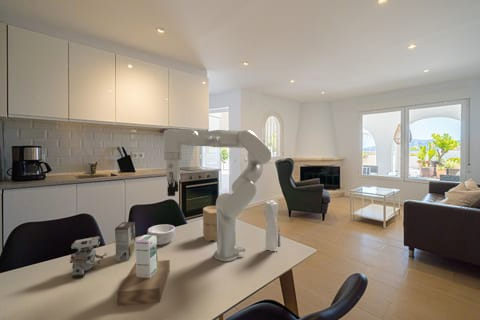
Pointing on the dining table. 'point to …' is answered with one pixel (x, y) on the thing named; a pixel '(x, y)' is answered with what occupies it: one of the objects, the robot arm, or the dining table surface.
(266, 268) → the dining table surface
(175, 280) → the dining table surface
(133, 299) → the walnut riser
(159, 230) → the paper bowls
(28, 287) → the dining table surface
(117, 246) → the coffee box
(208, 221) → the container
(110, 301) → the dining table surface
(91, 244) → the figurine
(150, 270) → the syrup box
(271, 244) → the skyscraper
